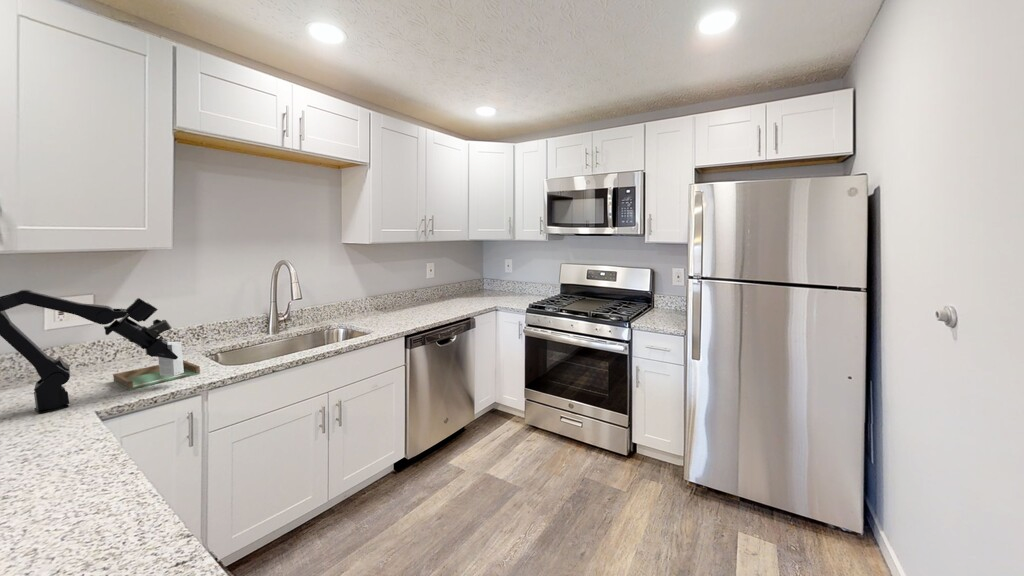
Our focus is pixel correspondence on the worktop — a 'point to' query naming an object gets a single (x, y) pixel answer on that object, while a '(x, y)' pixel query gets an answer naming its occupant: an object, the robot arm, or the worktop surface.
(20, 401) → the worktop surface
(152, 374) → the box
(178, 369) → the skincare box
